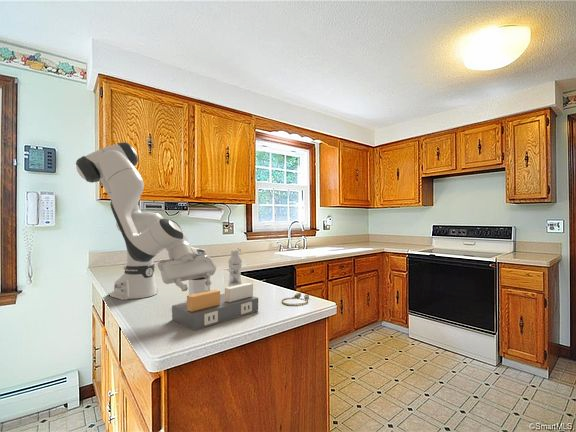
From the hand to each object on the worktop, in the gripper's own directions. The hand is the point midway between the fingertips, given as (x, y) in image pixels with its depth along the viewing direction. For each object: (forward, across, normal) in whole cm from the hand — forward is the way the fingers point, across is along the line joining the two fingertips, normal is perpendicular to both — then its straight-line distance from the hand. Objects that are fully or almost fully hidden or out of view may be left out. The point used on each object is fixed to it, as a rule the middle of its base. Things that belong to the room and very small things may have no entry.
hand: (197, 287), depth 105 cm
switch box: (+8, +6, +8) cm, 13 cm away
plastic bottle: (-6, +32, +22) cm, 39 cm away
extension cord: (+18, +40, 0) cm, 44 cm away
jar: (-7, +13, +23) cm, 28 cm away
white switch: (+8, +14, 0) cm, 16 cm away
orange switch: (+8, -1, 0) cm, 8 cm away
